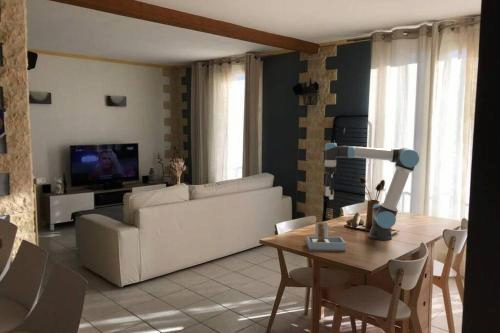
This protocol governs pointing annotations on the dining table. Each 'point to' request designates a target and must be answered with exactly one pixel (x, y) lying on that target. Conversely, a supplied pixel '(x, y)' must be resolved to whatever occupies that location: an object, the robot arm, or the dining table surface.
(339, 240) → the crate
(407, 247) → the dining table surface
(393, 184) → the robot arm
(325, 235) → the mug
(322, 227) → the peg
